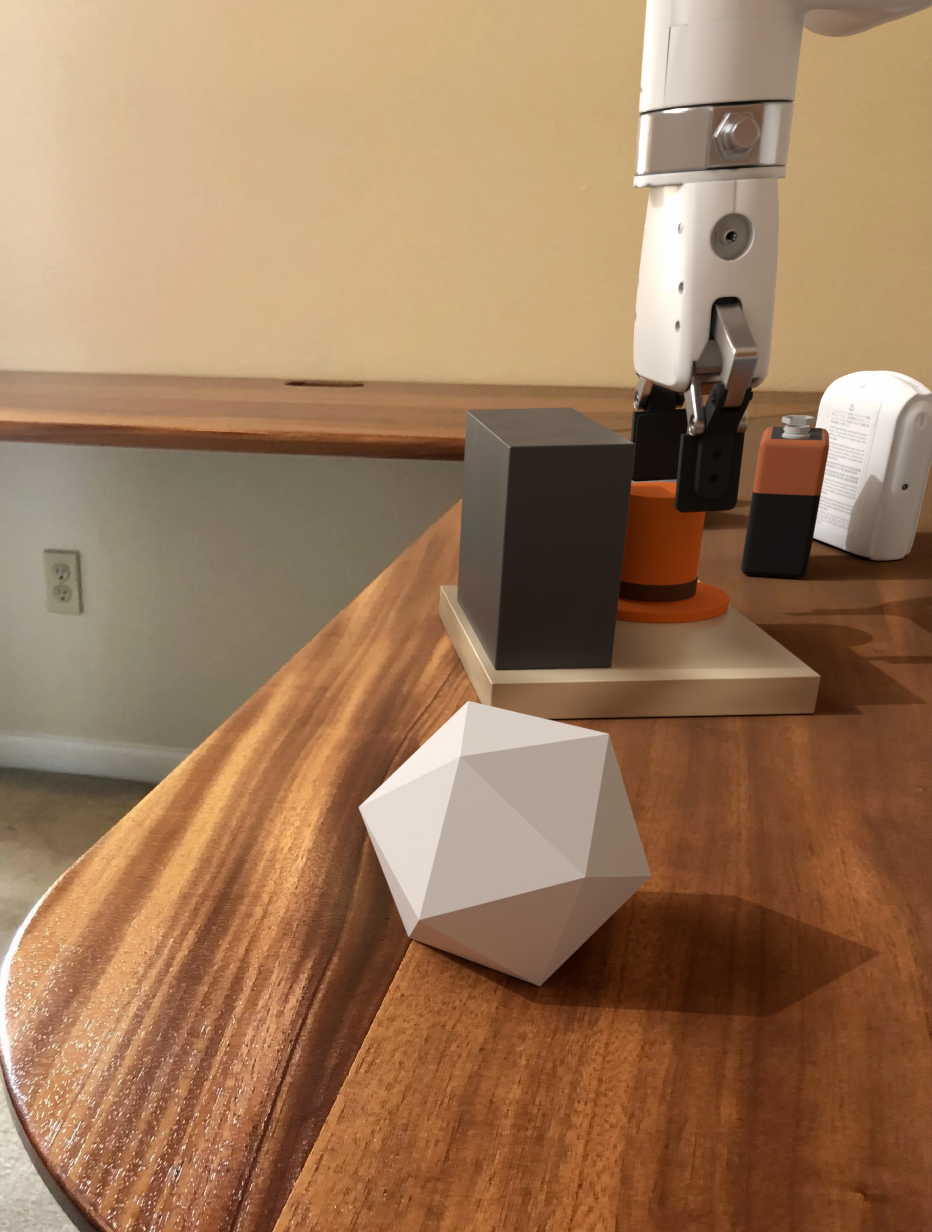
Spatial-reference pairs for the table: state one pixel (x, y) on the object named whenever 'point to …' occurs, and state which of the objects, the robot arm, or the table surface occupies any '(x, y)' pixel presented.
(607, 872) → the die
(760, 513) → the battery
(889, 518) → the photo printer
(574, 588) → the tall dark grey box
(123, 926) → the table surface
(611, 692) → the wooden board
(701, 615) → the hat
